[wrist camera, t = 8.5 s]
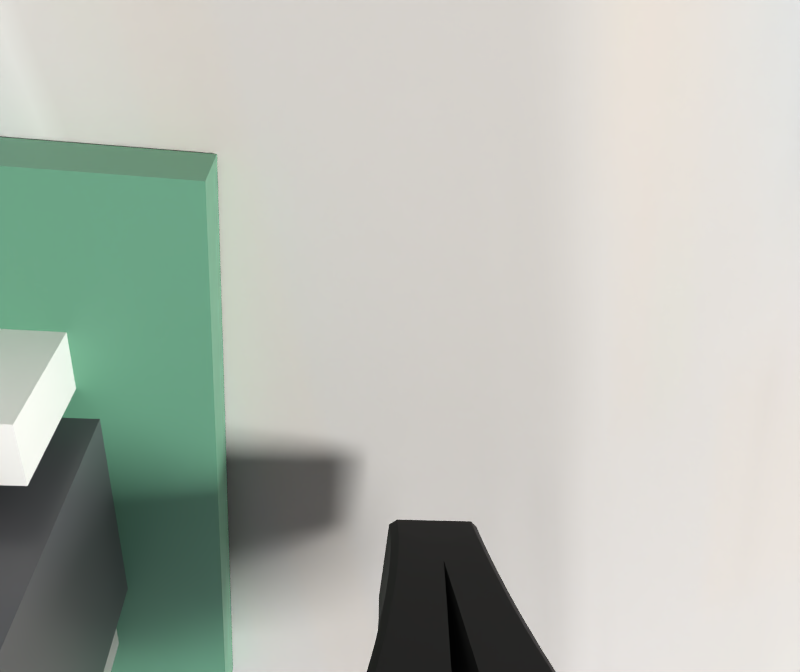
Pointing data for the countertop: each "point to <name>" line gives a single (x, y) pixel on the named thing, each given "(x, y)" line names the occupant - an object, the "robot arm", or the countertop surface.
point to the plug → (61, 558)
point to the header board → (126, 370)
